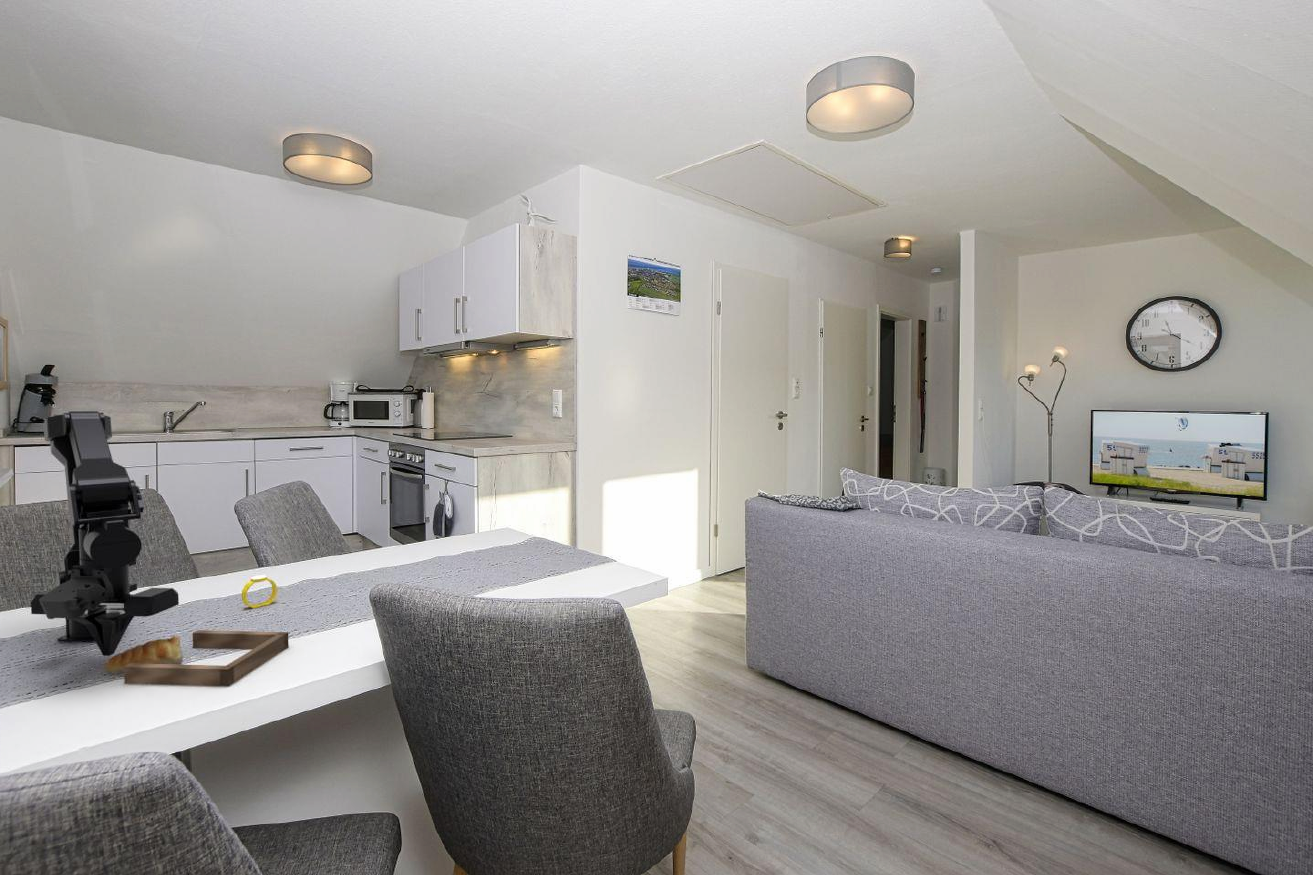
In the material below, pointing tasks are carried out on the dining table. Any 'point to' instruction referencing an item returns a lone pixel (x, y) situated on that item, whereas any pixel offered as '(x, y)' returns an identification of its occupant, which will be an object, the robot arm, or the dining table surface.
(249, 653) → the frame
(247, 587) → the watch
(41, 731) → the dining table surface
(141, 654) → the pastry
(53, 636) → the dining table surface
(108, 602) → the robot arm
